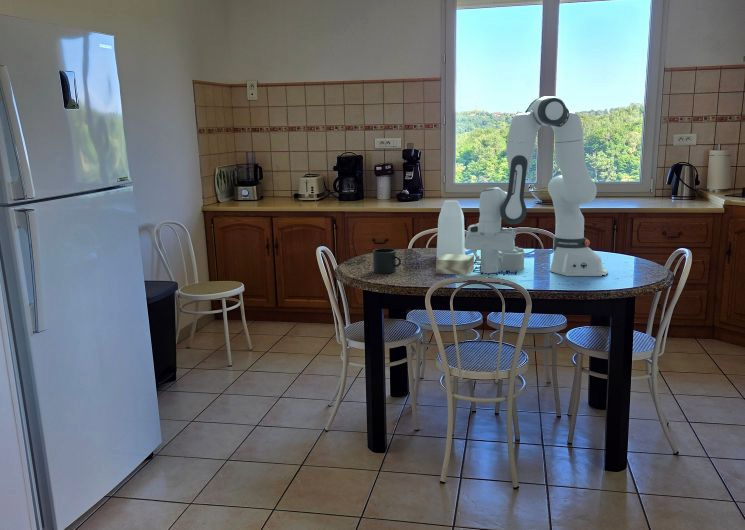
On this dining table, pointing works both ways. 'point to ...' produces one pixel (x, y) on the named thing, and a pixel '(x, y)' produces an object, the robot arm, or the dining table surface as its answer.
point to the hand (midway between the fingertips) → (489, 260)
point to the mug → (385, 261)
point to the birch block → (455, 264)
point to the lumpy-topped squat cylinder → (512, 260)
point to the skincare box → (489, 259)
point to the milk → (451, 229)
